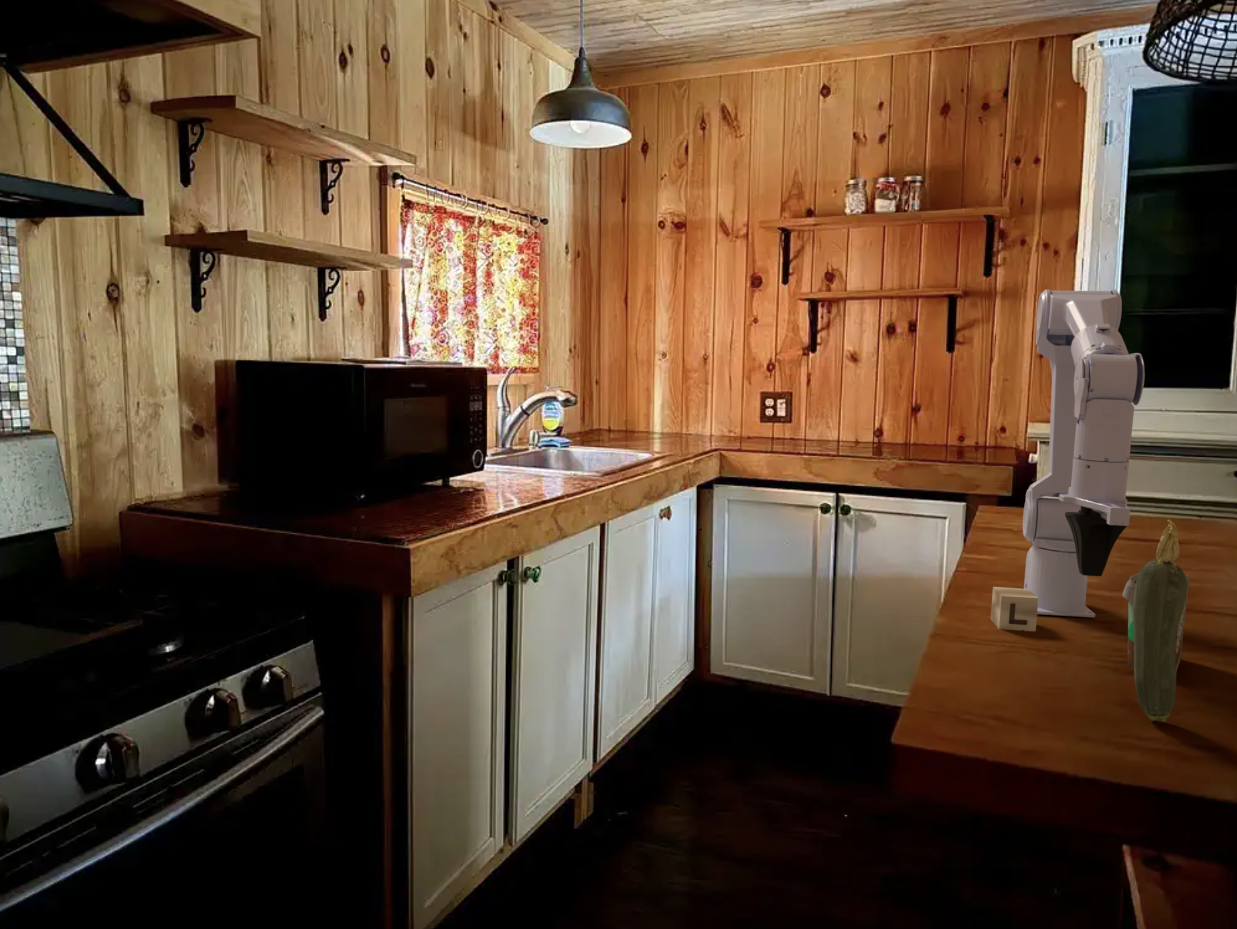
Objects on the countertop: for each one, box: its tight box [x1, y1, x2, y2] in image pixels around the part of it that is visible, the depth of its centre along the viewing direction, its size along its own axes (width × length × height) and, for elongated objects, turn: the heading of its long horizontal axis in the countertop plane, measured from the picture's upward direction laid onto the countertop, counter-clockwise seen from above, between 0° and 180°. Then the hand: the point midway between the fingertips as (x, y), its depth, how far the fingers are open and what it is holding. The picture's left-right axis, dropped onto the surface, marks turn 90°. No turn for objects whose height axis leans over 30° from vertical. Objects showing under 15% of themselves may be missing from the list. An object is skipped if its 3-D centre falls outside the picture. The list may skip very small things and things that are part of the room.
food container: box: [1122, 573, 1191, 672], centre depth 108 cm, size 12×6×10 cm, turn 145°
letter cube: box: [990, 586, 1038, 632], centre depth 123 cm, size 5×4×4 cm
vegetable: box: [1133, 519, 1187, 723], centre depth 91 cm, size 4×4×20 cm
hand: (1090, 574), depth 110 cm, fingers closed
